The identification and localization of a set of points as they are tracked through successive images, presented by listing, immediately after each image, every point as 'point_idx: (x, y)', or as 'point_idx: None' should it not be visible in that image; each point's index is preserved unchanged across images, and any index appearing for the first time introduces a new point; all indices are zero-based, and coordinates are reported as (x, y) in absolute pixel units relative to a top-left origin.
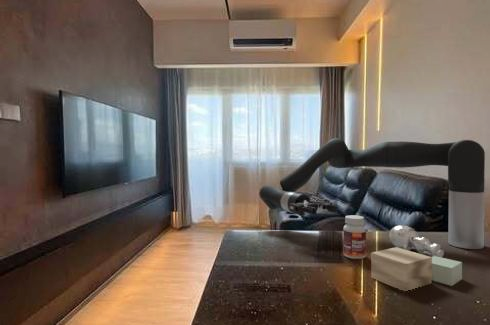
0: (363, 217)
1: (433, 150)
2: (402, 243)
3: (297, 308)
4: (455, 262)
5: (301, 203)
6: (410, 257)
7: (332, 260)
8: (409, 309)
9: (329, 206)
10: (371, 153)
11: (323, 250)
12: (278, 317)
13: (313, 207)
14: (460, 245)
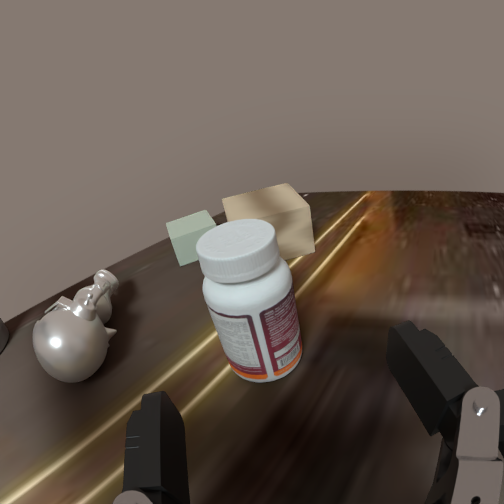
0: (208, 231)
1: None
2: (105, 329)
3: (450, 201)
4: (175, 222)
5: None
6: (256, 196)
7: (358, 330)
8: (321, 201)
9: (169, 466)
10: None
11: (349, 423)
12: (467, 193)
13: (413, 343)
14: (5, 335)
